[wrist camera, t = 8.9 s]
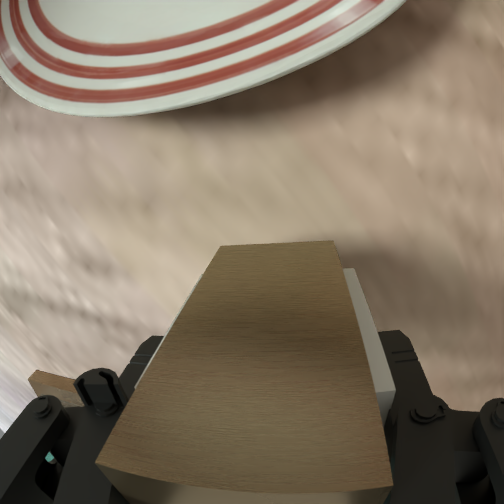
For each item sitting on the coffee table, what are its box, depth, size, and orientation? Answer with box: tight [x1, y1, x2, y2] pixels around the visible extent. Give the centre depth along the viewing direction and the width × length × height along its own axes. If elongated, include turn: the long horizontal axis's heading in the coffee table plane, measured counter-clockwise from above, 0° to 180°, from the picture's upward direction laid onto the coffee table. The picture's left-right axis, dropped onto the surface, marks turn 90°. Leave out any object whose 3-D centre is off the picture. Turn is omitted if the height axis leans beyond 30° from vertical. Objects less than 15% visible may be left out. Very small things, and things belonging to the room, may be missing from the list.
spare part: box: [95, 241, 393, 504], centre depth 9 cm, size 4×4×10 cm
